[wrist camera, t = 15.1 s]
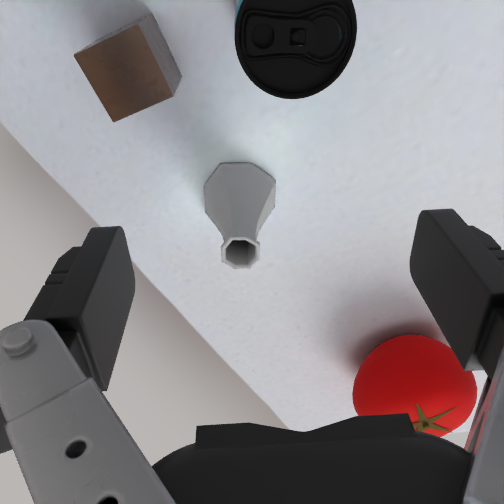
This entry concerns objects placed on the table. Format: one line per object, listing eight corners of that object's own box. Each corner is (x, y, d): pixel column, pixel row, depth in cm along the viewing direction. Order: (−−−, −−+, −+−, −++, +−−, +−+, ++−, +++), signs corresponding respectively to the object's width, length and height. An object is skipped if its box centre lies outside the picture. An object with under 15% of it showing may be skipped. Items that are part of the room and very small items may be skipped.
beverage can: (301, 54, 35) (335, 109, 23) (229, 38, 35) (224, 86, 22) (322, -31, 32) (375, -20, 20) (243, -51, 31) (247, -52, 19)
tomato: (465, 316, 53) (509, 387, 44) (446, 384, 60) (480, 456, 51) (346, 324, 53) (368, 397, 44) (342, 391, 60) (359, 464, 52)
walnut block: (129, 99, 37) (113, 122, 32) (96, 40, 34) (73, 55, 29) (182, 76, 36) (173, 96, 31) (152, 13, 33) (137, 24, 28)
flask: (287, 173, 41) (300, 228, 33) (262, 234, 45) (268, 297, 37) (214, 150, 40) (208, 202, 32) (194, 216, 44) (184, 277, 35)
